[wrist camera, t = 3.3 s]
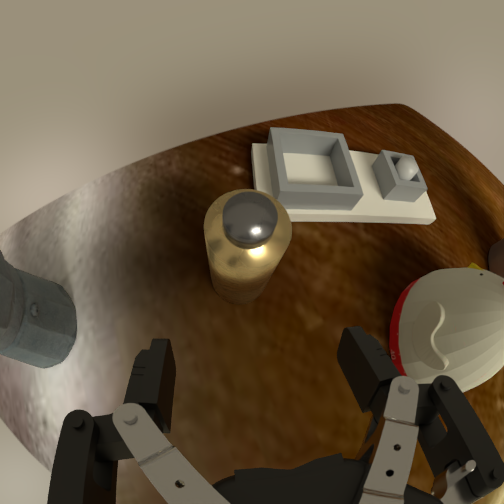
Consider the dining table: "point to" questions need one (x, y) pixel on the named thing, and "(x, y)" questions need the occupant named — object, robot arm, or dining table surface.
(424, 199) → the white tray
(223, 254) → the gold bottle
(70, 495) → the robot arm
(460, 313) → the kitchen timer
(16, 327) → the moka pot
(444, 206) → the dining table surface
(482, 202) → the dining table surface
